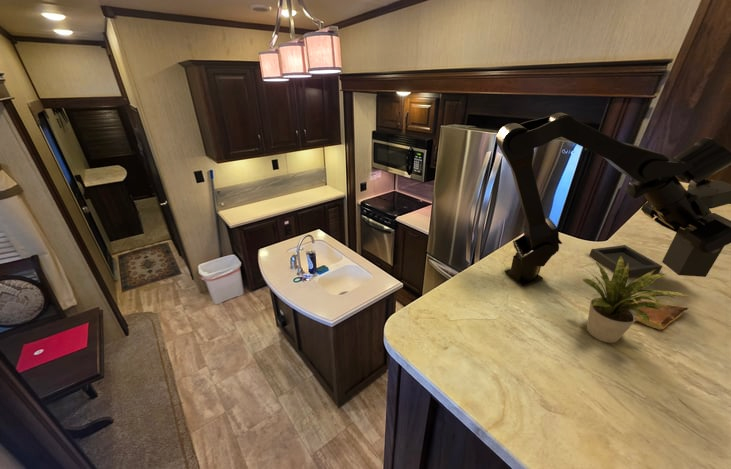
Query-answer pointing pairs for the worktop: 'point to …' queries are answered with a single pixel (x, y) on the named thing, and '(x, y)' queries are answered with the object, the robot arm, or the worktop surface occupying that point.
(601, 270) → the house plant
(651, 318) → the shard
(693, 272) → the dark banded block
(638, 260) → the base pad
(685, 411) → the worktop surface
